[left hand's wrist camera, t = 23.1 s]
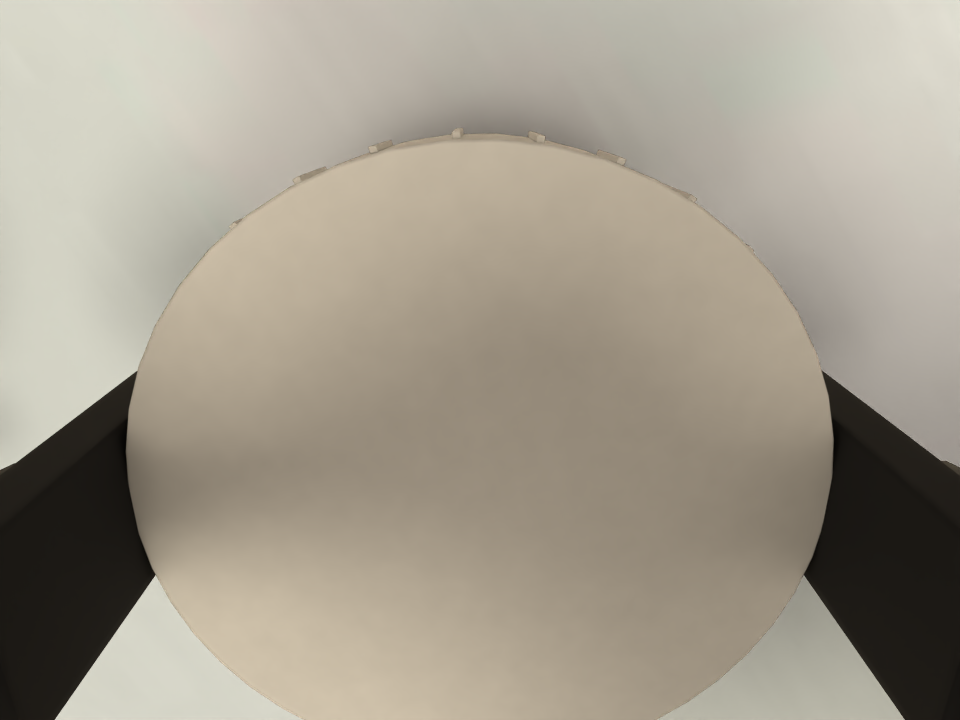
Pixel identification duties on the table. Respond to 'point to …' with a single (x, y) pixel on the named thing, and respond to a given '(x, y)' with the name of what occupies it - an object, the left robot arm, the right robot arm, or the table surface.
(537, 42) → the table surface
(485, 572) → the lid
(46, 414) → the table surface
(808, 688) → the table surface
